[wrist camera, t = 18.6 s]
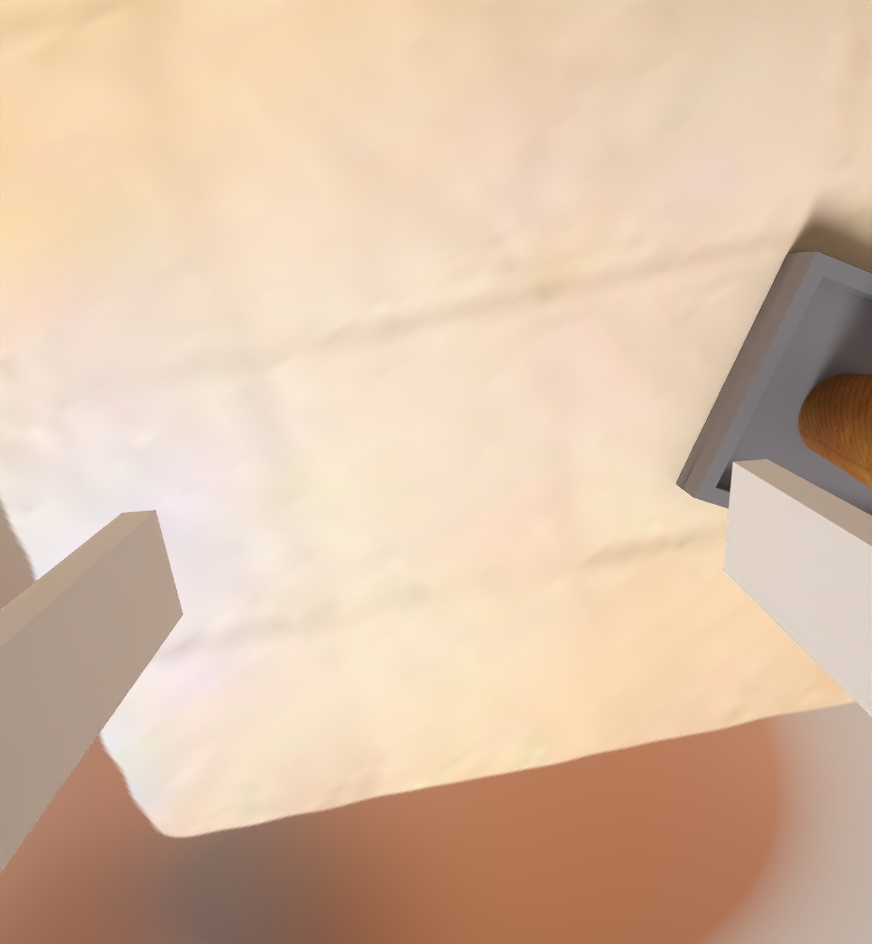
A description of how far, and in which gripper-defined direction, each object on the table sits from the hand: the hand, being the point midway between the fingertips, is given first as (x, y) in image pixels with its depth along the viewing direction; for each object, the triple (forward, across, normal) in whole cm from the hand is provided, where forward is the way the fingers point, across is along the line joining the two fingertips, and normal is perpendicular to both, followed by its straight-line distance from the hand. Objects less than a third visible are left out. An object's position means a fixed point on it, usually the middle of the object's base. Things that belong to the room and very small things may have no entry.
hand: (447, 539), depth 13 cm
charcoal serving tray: (+31, +30, -7) cm, 44 cm away
